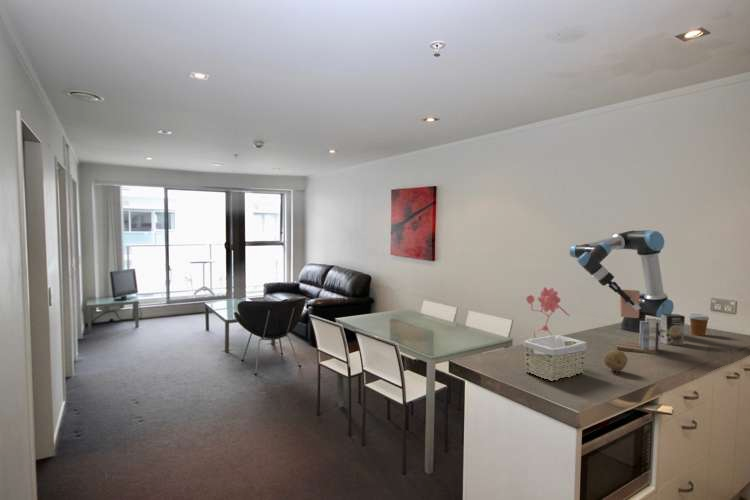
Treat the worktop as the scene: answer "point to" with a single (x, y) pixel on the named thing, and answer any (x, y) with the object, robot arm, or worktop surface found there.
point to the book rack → (643, 338)
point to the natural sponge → (615, 360)
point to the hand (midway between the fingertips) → (637, 308)
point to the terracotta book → (625, 307)
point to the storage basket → (555, 356)
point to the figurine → (546, 303)
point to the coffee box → (672, 329)
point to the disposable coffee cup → (698, 324)
